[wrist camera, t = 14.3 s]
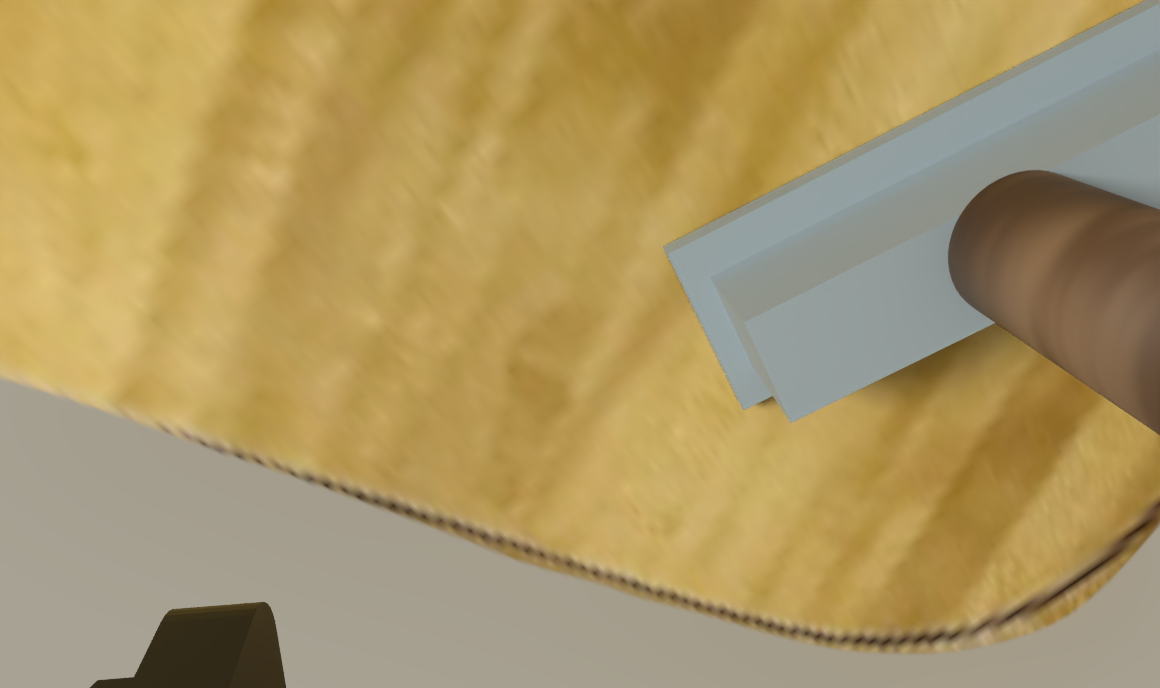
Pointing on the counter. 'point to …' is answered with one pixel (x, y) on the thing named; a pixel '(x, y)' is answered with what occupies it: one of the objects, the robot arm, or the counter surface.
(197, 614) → the robot arm
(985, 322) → the rail
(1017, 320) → the pepper mill
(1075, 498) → the counter surface
